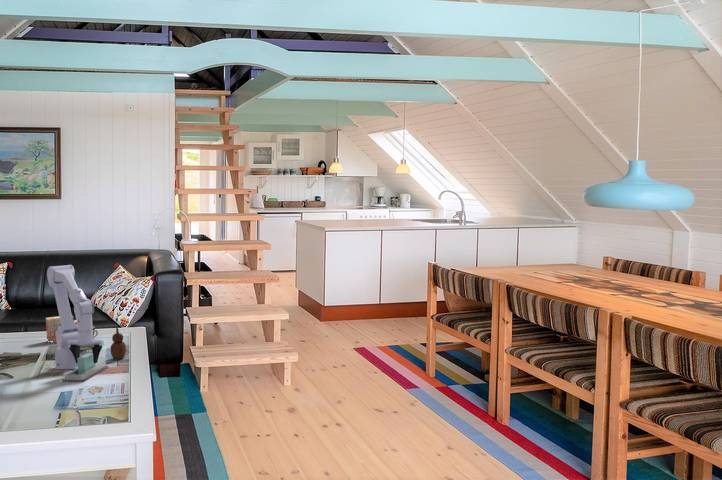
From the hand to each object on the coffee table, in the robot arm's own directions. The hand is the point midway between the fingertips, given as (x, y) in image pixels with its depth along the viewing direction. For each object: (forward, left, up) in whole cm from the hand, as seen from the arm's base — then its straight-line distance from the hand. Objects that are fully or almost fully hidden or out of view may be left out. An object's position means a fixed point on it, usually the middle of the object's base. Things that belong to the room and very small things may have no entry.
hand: (86, 362), depth 300 cm
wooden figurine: (+2, +26, -5) cm, 27 cm away
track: (0, -1, -4) cm, 5 cm away
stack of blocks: (-41, +65, -5) cm, 77 cm away
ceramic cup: (-22, +45, -5) cm, 50 cm away
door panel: (0, 0, -4) cm, 4 cm away
